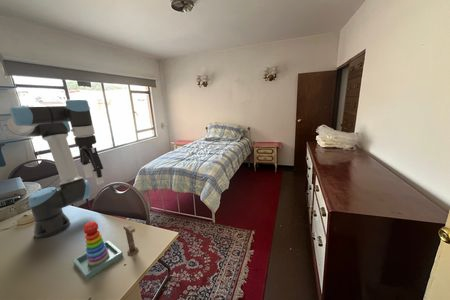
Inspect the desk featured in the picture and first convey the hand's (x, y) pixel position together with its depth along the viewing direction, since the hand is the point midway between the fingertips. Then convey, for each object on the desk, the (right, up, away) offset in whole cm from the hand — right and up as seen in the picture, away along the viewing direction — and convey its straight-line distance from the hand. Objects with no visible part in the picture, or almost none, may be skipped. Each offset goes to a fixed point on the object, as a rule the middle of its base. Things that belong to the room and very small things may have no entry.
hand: (94, 180), depth 88 cm
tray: (+6, -35, -5) cm, 35 cm away
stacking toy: (+5, -34, -5) cm, 35 cm away
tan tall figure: (+18, -33, -1) cm, 38 cm away
